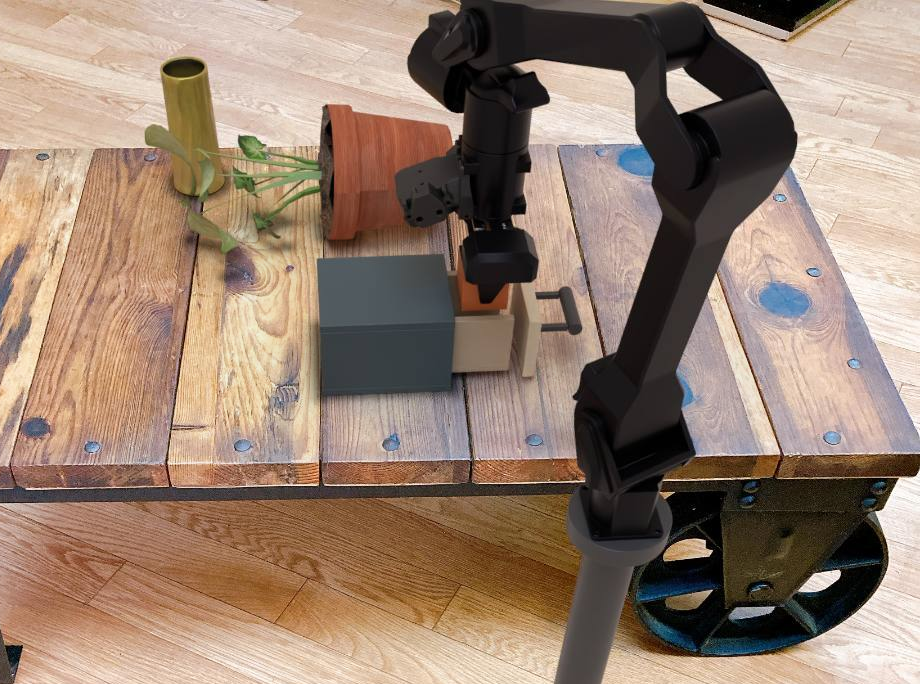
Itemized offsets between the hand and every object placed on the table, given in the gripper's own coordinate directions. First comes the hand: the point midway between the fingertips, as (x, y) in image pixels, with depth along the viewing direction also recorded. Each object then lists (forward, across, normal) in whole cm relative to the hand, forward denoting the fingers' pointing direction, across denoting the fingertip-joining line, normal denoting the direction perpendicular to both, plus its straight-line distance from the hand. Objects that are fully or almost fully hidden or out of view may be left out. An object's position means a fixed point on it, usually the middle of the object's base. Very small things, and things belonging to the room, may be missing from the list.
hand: (482, 287), depth 106 cm
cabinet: (+8, 0, -10) cm, 13 cm away
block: (+1, 0, 0) cm, 1 cm away
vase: (+8, -34, -30) cm, 45 cm away
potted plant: (+8, -22, -18) cm, 30 cm away
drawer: (+7, 0, +2) cm, 8 cm away
